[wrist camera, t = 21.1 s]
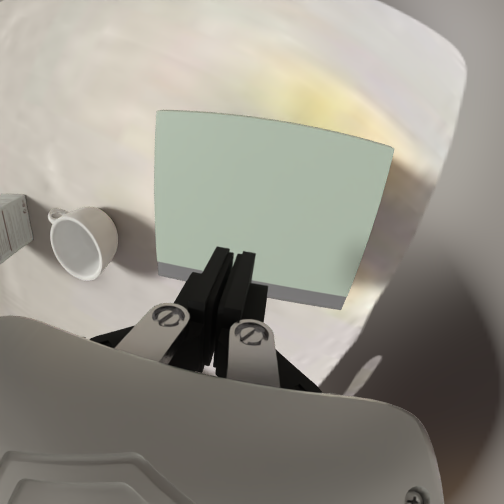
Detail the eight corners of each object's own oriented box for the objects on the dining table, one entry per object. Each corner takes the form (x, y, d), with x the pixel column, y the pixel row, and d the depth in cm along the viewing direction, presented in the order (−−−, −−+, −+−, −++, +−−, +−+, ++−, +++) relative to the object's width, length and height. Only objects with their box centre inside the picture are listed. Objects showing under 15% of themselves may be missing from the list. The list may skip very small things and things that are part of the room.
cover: (339, 302, 22) (341, 310, 21) (162, 269, 23) (158, 276, 22) (389, 145, 15) (394, 148, 14) (163, 109, 16) (156, 111, 15)
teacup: (137, 225, 30) (111, 247, 25) (114, 269, 33) (92, 293, 29) (76, 176, 28) (46, 190, 23) (60, 223, 32) (34, 241, 27)
